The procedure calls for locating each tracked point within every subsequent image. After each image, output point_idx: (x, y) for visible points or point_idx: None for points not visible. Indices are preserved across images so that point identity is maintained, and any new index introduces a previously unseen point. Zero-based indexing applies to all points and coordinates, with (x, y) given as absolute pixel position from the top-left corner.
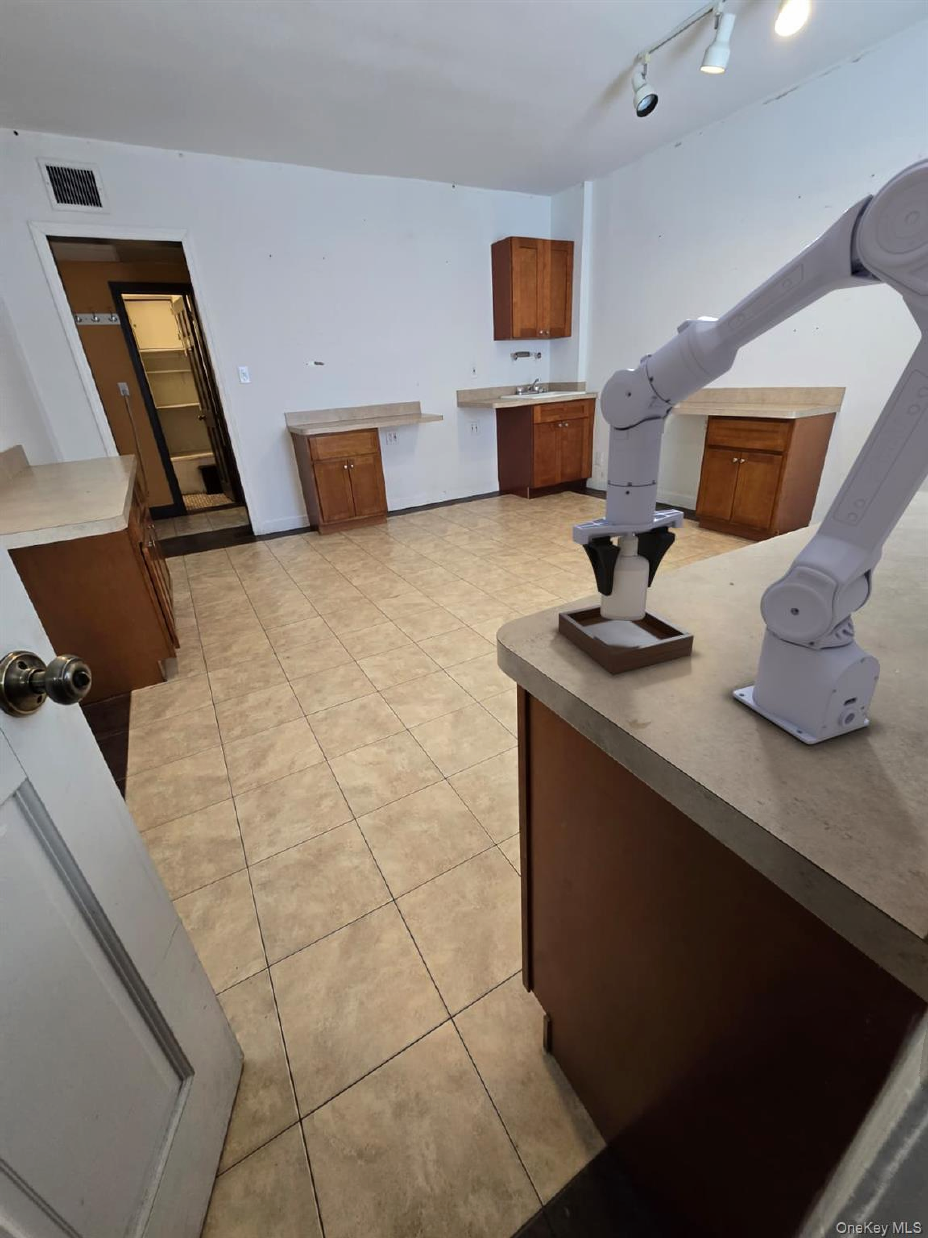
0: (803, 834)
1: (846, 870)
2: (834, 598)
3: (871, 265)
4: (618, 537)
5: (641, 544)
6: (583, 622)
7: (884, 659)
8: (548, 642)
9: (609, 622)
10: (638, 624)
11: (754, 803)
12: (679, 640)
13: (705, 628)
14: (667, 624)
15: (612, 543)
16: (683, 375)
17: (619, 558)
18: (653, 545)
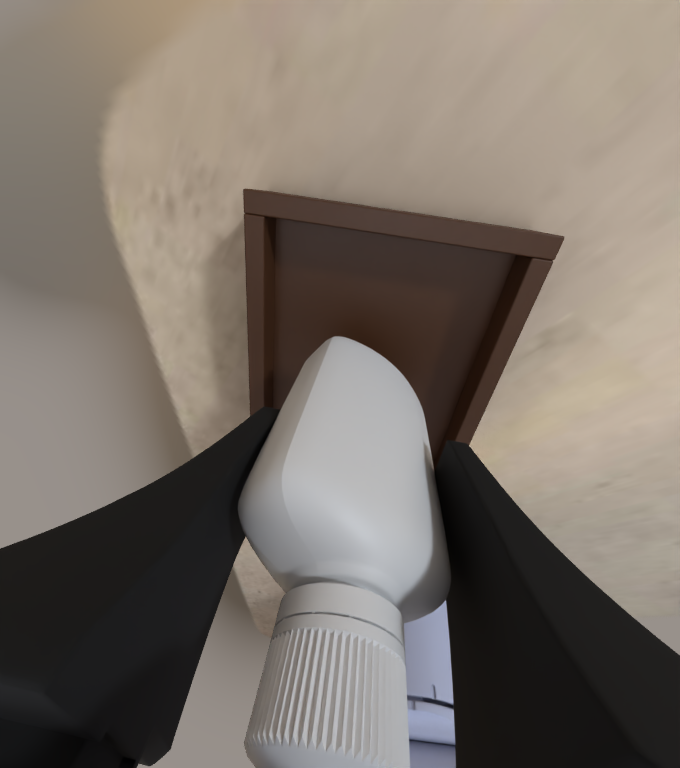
0: (262, 609)
1: (262, 623)
2: None
3: None
4: (262, 747)
5: (514, 652)
6: (330, 241)
7: (638, 598)
8: (208, 245)
9: (395, 292)
10: (450, 349)
11: (255, 590)
12: None
13: (589, 417)
14: (455, 440)
15: (142, 745)
16: None
17: (283, 588)
18: (472, 730)
